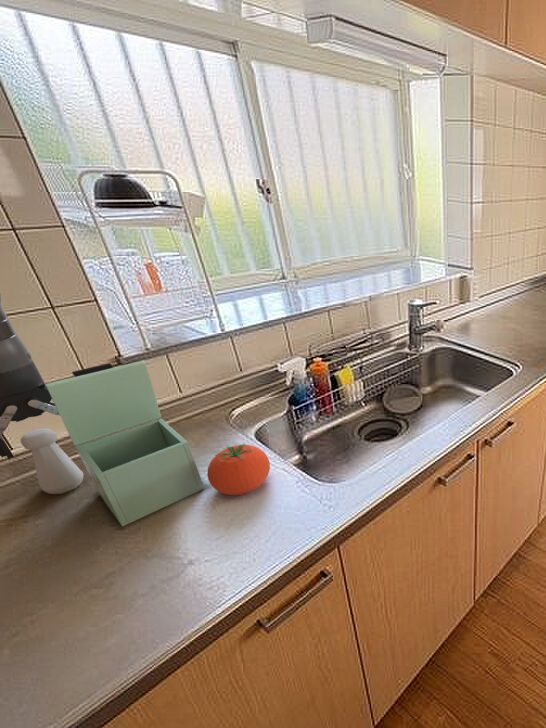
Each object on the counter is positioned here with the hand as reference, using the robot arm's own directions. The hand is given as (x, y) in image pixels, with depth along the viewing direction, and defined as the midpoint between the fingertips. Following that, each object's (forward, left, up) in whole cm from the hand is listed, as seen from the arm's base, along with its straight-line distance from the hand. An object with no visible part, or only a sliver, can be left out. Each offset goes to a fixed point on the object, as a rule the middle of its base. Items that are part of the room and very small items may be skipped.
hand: (44, 445), depth 76 cm
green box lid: (+9, -10, +8) cm, 16 cm away
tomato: (+21, -25, -10) cm, 34 cm away
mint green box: (+9, -14, -10) cm, 20 cm away
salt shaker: (0, 0, -10) cm, 10 cm away
